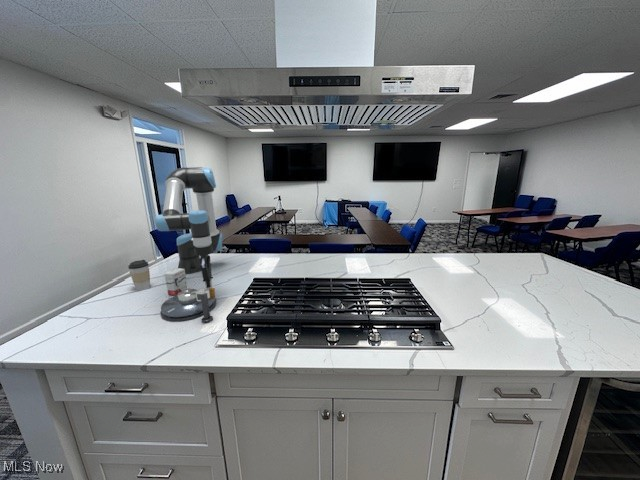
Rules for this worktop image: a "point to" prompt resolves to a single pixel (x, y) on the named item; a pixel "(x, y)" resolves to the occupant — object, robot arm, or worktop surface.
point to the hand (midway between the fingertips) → (210, 292)
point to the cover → (187, 297)
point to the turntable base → (187, 317)
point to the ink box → (176, 281)
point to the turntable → (185, 307)
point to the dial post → (204, 304)
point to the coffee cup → (140, 274)
